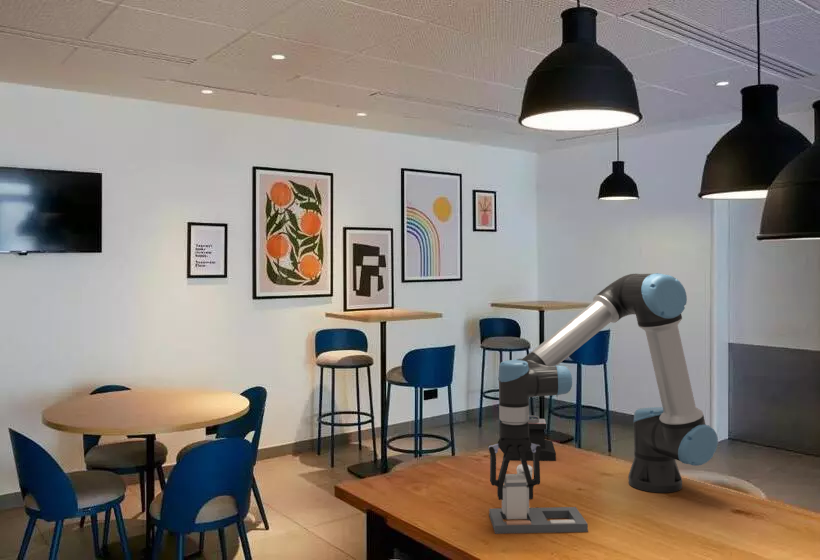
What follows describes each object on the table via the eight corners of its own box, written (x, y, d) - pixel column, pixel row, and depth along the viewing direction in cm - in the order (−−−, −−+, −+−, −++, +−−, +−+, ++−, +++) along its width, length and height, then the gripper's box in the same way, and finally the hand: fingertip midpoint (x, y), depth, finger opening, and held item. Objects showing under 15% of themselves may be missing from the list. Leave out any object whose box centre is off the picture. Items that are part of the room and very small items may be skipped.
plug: (523, 511, 178) (523, 473, 178) (527, 519, 173) (526, 479, 173) (504, 512, 178) (503, 474, 178) (507, 519, 173) (506, 480, 173)
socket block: (575, 514, 182) (575, 505, 182) (587, 531, 170) (587, 522, 170) (489, 516, 182) (489, 507, 182) (495, 533, 170) (495, 524, 170)
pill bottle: (535, 499, 194) (535, 464, 194) (516, 498, 195) (516, 463, 195) (535, 494, 199) (535, 459, 198) (517, 493, 200) (516, 459, 200)
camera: (508, 422, 232) (506, 409, 247) (508, 463, 234) (506, 448, 249) (555, 423, 231) (551, 409, 245) (555, 464, 232) (551, 448, 247)
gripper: (546, 417, 179) (547, 505, 180) (477, 418, 179) (478, 507, 180) (552, 424, 172) (554, 516, 172) (480, 425, 172) (481, 517, 172)
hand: (515, 511), depth 176 cm, fingers open, 5 cm apart
